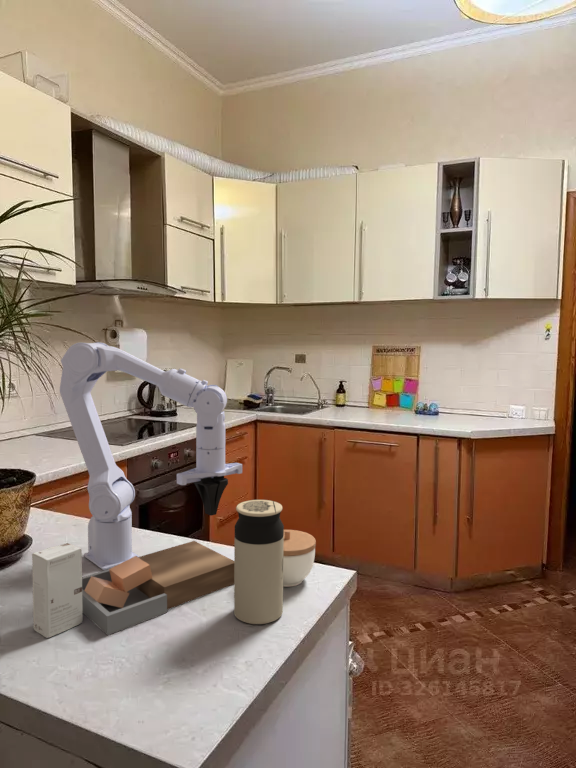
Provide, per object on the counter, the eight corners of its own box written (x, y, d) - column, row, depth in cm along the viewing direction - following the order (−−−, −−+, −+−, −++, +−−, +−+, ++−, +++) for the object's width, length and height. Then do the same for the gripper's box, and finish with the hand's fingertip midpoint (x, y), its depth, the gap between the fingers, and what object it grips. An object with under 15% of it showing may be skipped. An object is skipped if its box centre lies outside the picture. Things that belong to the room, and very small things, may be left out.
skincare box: (48, 639, 79) (46, 560, 78) (31, 630, 82) (29, 553, 81) (84, 622, 84) (83, 547, 83) (68, 613, 87) (67, 541, 86)
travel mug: (230, 625, 84) (231, 513, 83) (237, 600, 92) (238, 498, 91) (281, 627, 84) (282, 514, 82) (284, 602, 92) (285, 499, 90)
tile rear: (112, 582, 92) (109, 569, 91) (138, 568, 95) (135, 555, 94) (125, 592, 88) (122, 579, 87) (152, 577, 91) (149, 564, 91)
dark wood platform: (125, 582, 98) (124, 561, 98) (194, 559, 109) (194, 540, 108) (164, 610, 88) (164, 587, 88) (236, 583, 99) (236, 562, 98)
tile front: (116, 582, 92) (109, 597, 92) (91, 576, 89) (84, 591, 89) (129, 593, 89) (122, 608, 88) (104, 586, 86) (96, 601, 85)
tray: (67, 598, 92) (67, 581, 92) (123, 580, 99) (122, 564, 99) (107, 635, 81) (107, 616, 80) (167, 612, 88) (166, 594, 87)
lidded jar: (247, 584, 98) (247, 534, 97) (275, 563, 108) (276, 517, 107) (299, 598, 93) (300, 546, 92) (324, 574, 103) (325, 527, 102)
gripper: (190, 455, 98) (191, 527, 99) (251, 445, 108) (251, 511, 109) (170, 449, 103) (171, 517, 104) (230, 440, 113) (230, 503, 114)
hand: (210, 513), depth 107 cm, fingers closed
